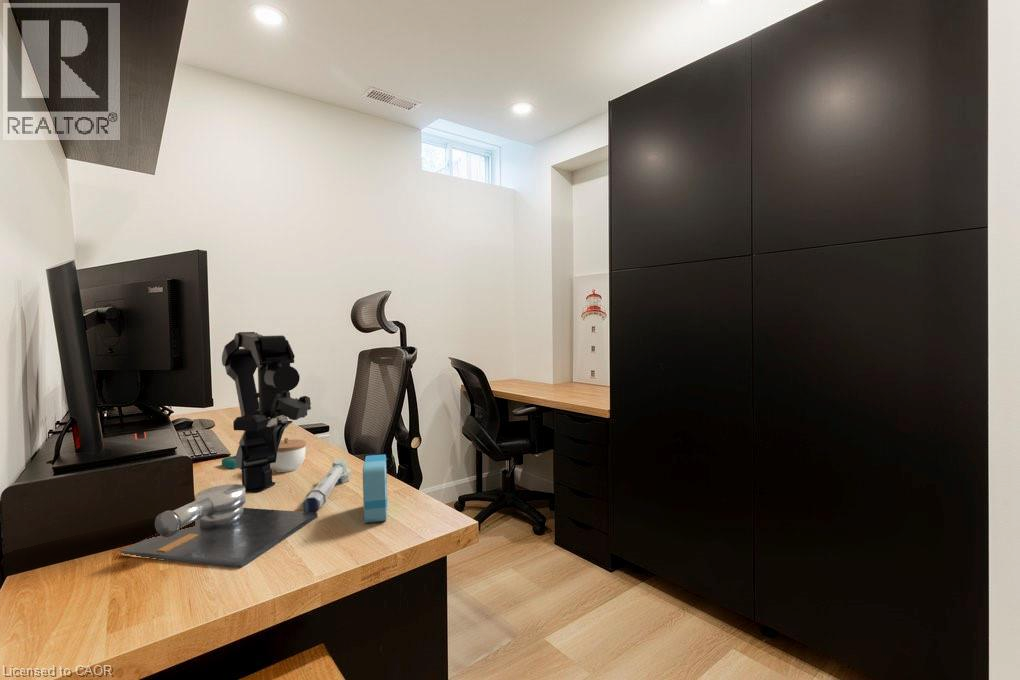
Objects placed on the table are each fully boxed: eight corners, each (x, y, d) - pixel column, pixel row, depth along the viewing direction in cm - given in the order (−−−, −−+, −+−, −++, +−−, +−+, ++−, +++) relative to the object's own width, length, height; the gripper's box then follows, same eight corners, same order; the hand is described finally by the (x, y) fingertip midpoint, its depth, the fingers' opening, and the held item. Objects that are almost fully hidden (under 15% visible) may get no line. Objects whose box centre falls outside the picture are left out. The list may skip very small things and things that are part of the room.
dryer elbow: (219, 500, 105) (218, 480, 105) (255, 501, 104) (254, 481, 104) (144, 535, 88) (143, 511, 87) (187, 538, 86) (186, 513, 86)
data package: (386, 523, 100) (384, 467, 99) (364, 525, 99) (362, 469, 98) (387, 502, 111) (385, 452, 111) (367, 505, 110) (366, 454, 110)
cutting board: (120, 556, 87) (119, 534, 87) (217, 510, 109) (216, 493, 109) (241, 567, 82) (240, 545, 82) (317, 517, 103) (316, 499, 103)
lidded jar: (296, 474, 135) (295, 442, 134) (259, 475, 135) (258, 442, 135) (313, 463, 145) (311, 433, 145) (278, 464, 146) (277, 434, 145)
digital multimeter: (280, 458, 153) (279, 449, 153) (232, 470, 141) (232, 461, 141) (267, 456, 157) (267, 447, 157) (220, 467, 145) (220, 458, 145)
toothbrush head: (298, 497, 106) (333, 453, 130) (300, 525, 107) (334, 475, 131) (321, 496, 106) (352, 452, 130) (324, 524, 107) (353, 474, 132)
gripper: (274, 393, 102) (276, 464, 102) (324, 383, 120) (326, 443, 121) (230, 393, 104) (232, 462, 105) (286, 383, 123) (288, 442, 123)
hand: (274, 452), depth 113 cm, fingers closed
